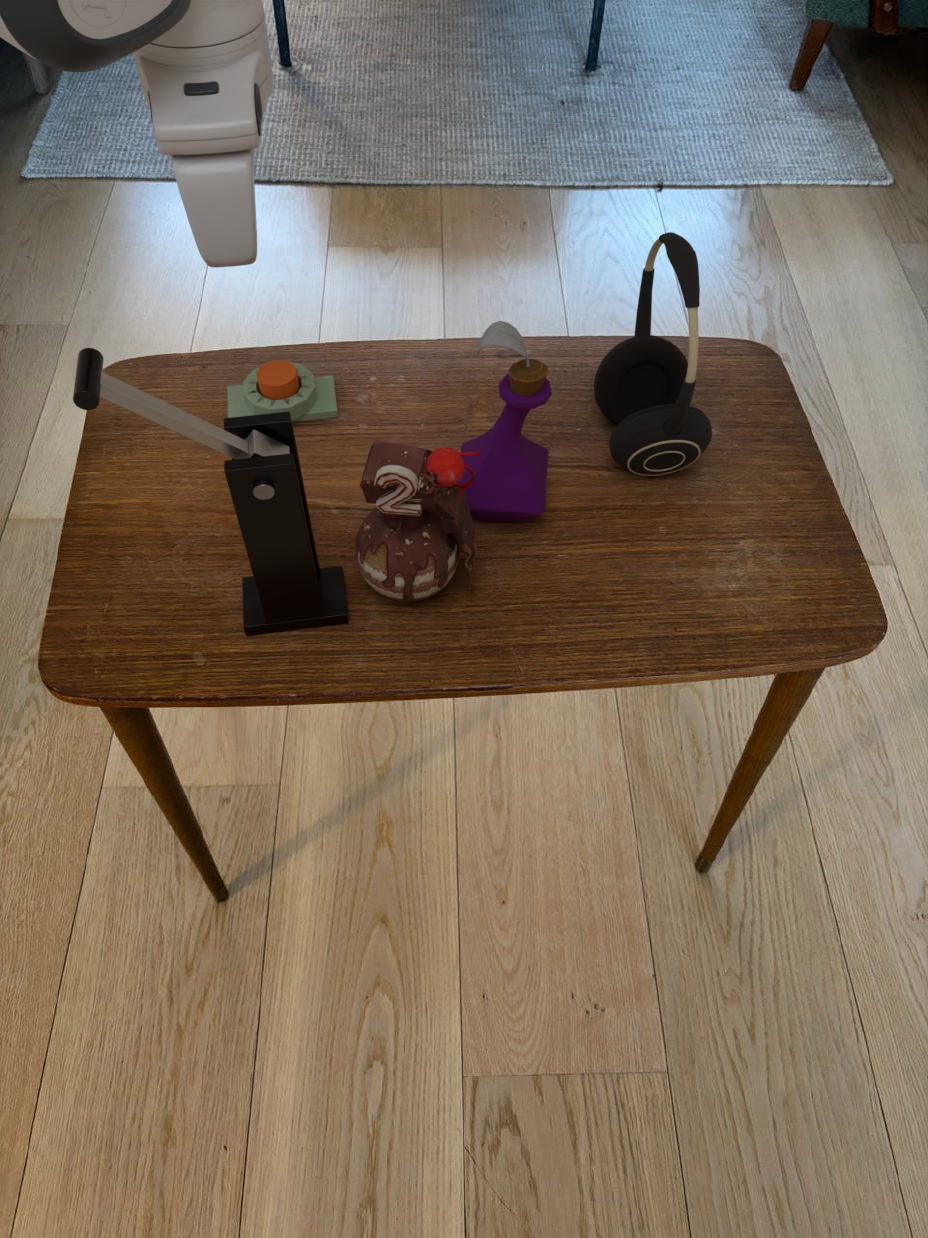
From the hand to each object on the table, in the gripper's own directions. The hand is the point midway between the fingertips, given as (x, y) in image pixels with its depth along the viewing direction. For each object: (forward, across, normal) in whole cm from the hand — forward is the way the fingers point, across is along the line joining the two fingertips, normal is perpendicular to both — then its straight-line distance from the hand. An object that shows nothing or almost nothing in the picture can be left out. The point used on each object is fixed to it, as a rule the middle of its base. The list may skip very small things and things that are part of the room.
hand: (240, 249), depth 77 cm
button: (+15, -2, +1) cm, 16 cm away
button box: (+18, -2, +1) cm, 18 cm away
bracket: (+18, +22, +1) cm, 28 cm away
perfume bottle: (+18, +14, +19) cm, 29 cm away
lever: (-1, +22, -4) cm, 22 cm away
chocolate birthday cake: (+18, +21, +11) cm, 30 cm away
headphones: (+17, +9, +33) cm, 38 cm away
